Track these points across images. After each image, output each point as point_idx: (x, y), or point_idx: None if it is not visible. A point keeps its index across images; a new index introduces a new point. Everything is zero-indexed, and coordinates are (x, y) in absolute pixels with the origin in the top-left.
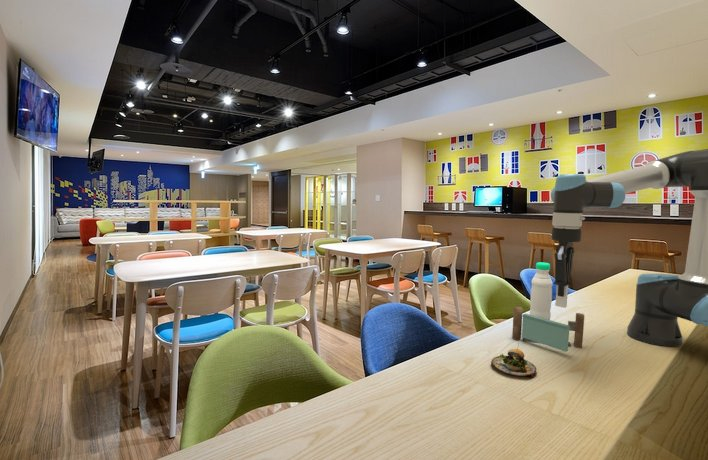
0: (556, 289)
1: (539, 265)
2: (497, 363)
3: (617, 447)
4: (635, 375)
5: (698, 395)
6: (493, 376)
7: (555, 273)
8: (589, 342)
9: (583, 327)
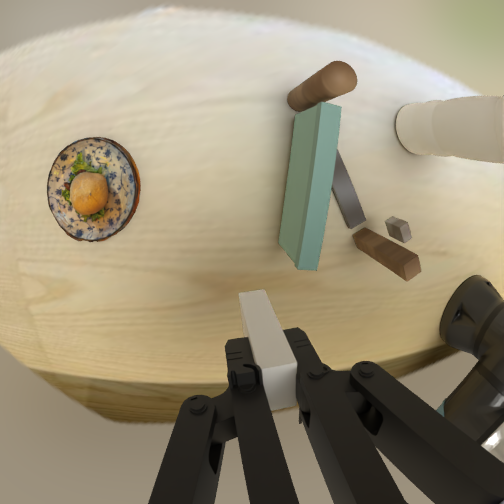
0: (251, 346)
1: None
2: (82, 153)
3: (43, 373)
4: None
5: None
6: (37, 182)
7: (159, 470)
8: None
9: (386, 266)
